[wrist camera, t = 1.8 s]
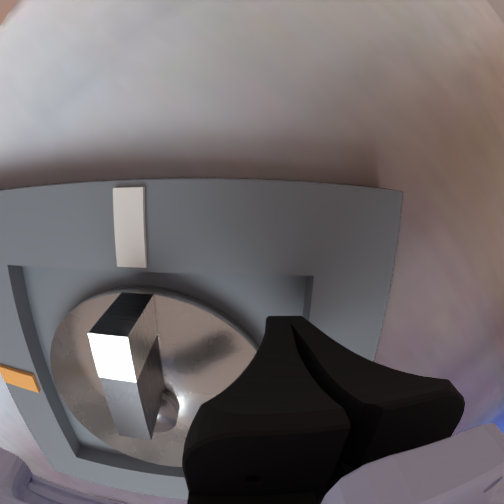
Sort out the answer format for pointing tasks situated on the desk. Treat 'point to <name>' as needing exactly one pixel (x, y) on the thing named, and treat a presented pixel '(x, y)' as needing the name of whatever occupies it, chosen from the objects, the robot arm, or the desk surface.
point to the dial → (145, 366)
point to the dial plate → (182, 279)
